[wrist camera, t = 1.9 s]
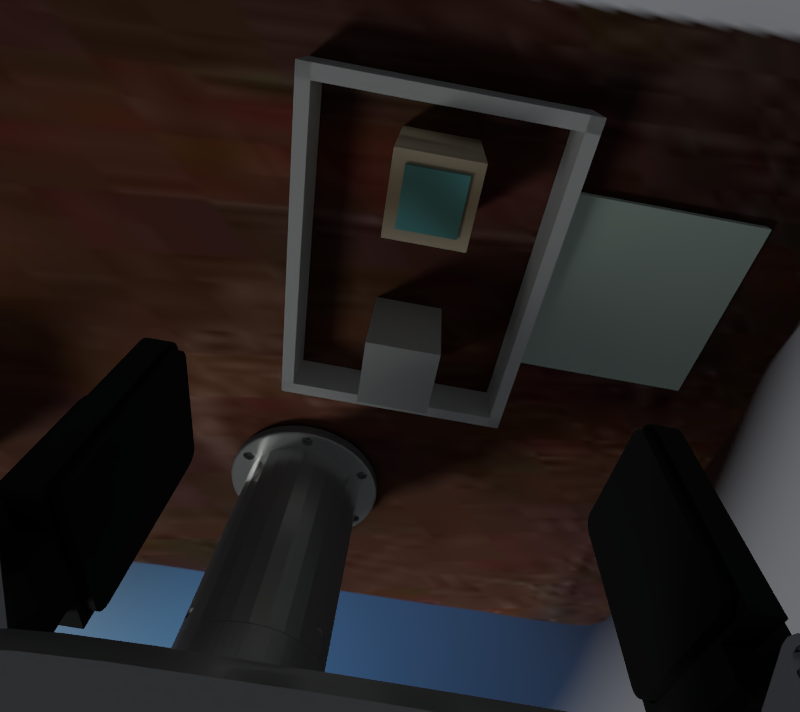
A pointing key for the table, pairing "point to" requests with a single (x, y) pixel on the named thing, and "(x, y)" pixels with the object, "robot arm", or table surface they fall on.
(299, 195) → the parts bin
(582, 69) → the table surface
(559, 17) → the table surface
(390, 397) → the plain block
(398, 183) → the labelled block
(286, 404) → the table surface
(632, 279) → the mat
